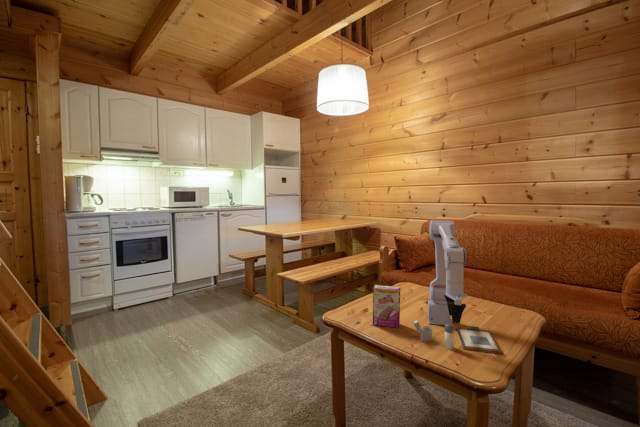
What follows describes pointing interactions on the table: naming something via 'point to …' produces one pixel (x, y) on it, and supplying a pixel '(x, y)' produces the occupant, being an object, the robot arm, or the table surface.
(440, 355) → the table surface
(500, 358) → the table surface
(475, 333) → the picture frame
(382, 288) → the candy bar box
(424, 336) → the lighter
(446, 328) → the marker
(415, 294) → the table surface
